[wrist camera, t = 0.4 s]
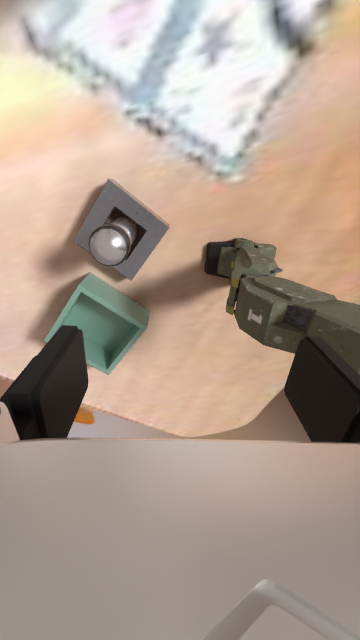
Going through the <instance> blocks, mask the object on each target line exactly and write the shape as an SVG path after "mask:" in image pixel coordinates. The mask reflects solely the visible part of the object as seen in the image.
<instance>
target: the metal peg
mask: <svg viewBox="0 0 360 640" xmlns="http://www.w3.org/2000/svg"><path fill="white" fill-rule="evenodd" d="M136 236H137V228H136V225H135V224H134V222H133V221H132V220H130V219H128V218H125V217H120V218H117V219H116V220H114V221H113V222H111V223H110V224H105V225H102V226H100V227H98V228H97V229H95V230H94V231H93V232H92V234H91V236H90V238H89V250H90V252H91V254H92V256H93V257H94V258H95V259H96V260H97V261H98V262H99V263H101V264H103V265H106V266H116V265H119V264H121V263H122V262H124V261H125V259H126V258H127V256H128V254H129V252H130V249H131V245H132V243H133V242H134V240H135V238H136Z"/></svg>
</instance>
